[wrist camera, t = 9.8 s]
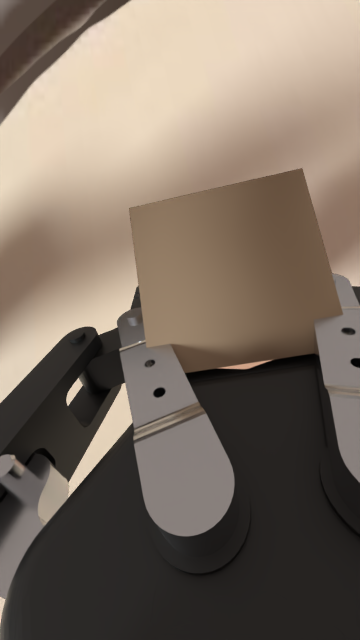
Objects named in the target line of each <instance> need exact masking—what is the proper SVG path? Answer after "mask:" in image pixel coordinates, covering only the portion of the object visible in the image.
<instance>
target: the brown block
mask: <svg viewBox="0 0 360 640" xmlns="http://www.w3.org/2000/svg"><path fill="white" fill-rule="evenodd" d="M129 212H130V220H131V228H132V236H133V244H134V252H135V260H136V268H137V276H138V284H139V292H140V300H141V308H142V316H143V324H144V332H145V340H146V348H147V347H153V346H159V345H165V344H171V346H172V348H173V351H174V353H175V355H176V357H177V359H178V361H179V363H180V365H181V367H182V369H183V371H184V373H189V372H195V371H202V370H208V369H215V368H221V367H228V366H234V365H241V364H247V363H254V362H261V361H267V360H274V359H280V358H287V357H293V356H300V355H306V354H313V353H314V319H320V318H326V317H331V316H337V315H343V311H342V308H341V304H340V301H339V297H338V294H337V290H336V287H335V283H334V279H333V276H332V272H331V269H330V265H329V262H328V258H327V255H326V251H325V248H324V244H323V240H322V237H321V233H320V230H319V226H318V223H317V219H316V216H315V212H314V208H313V205H312V201H311V198H310V194H309V191H308V187H307V184H306V180H305V177H304V173H303V169H302V168H301V169H297V170H292V171H288V172H284V173H279V174H275V175H271V176H266V177H262V178H258V179H253V180H249V181H245V182H240V183H236V184H232V185H227V186H223V187H219V188H215V189H210V190H206V191H202V192H197V193H193V194H189V195H184V196H180V197H176V198H171V199H167V200H163V201H158V202H154V203H150V204H145V205H141V206H137V207H132V208H129Z"/></svg>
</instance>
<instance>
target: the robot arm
mask: <svg viewBox="0 0 360 640" xmlns="http://www.w3.org/2000/svg"><path fill="white" fill-rule="evenodd" d="M332 276H333V279H334V283H335V287H336V290H337V294H338V297H339V301H340V304H341V308H342V311H343V315H337V316H331V317H326V318H320V319H314V353H313V354H306V355H300V356H293V357H287V358H280V359H274V360H271V361H268V362H265V363H263V364H260V365H257V366H254V367H252V368H249V369H224V368H215V369H208V370H202V371H195V372H189V373H184V371H183V369H182V367H181V365H180V363H179V361H178V359H177V357H176V355H175V353H174V351H173V348H172V346H171V344H165V345H159V346H153V347H147V348H146V340H145V332H144V324H143V316H142V308H141V300H140V292H139V286H138V287H137V288H136V292H135V295H134V299H133V302H132V306H131V309H130V310H129V311H127V312H125V313H124V314H122V315H121V316H120V317H119V318H118V320H117V326H118V327H117V328H115V329H113V330H111V331H108V332H106V333H103V334H100V335H98V333H97V331H96V329H95V328H93V327H82V328H78V329H76V330H74V331H72V332H70V333H68V334H67V335H66V336H64V337H63V338H62V339H61V340H60V341H59V343H58V344H57V345H56V346H55V347H54V348H53V349H52V350H51V351H50V352H49V353H48V354H47V355H46V356H45V357H44V358H43V359H42V360H41V361H40V362H39V364H38V365H37V366H36V367H35V368H34V369H33V370H32V371H31V372H30V373H29V374H28V375H27V376H26V377H25V378H24V379H23V380H22V381H21V382H20V383H19V385H18V386H17V387H16V388H15V389H14V390H13V391H12V392H11V393H10V394H9V395H8V396H7V397H6V398H5V399H4V400H3V401H2V402H1V403H0V597H2V598H4V599H6V600H5V604H4V608H3V612H2V618H1V625H0V640H360V287H354V286H351V284H350V281H349V280H348V279H347V278H346V277H344V276H341V275H337V274H332ZM78 378H79V379H80V381H81V383H82V384H83V386H82V387H81V389H80V390H79V392H78V393H77V395H76V396H75V397H74V399H73V400H72V402H71V403H70V404H69V406H67V403H66V397H67V393H68V391H69V389H70V388H71V387H72V385H73V384H74V383H75V381H76V380H77V379H78ZM123 383H126V389H127V394H128V399H129V404H130V410H131V415H132V420H133V423H132V424H131V425H130V426H129V427H128V429H127V430H126V431H125V432H124V433H123V435H122V436H121V437H120V438H119V439H118V440H117V442H116V443H115V444H114V445H113V446H112V447H111V449H110V450H109V451H108V452H107V453H106V454H105V456H104V457H103V458H102V459H101V460H100V461H99V463H98V464H97V465H96V466H95V467H94V468H93V470H92V471H91V472H90V473H89V474H88V475H87V477H86V478H85V479H84V480H83V481H82V483H81V484H80V485H79V486H78V487H77V488H76V490H75V491H74V492H73V493H72V494H71V495H70V497H69V498H68V493H69V485H68V482H69V481H70V479H71V477H72V475H73V473H74V472H75V470H76V468H77V466H78V464H79V463H80V461H81V459H82V457H83V455H84V454H85V452H86V450H87V448H88V447H89V445H90V443H91V441H92V439H93V438H94V436H95V434H96V432H97V430H98V429H99V427H100V425H101V423H102V421H103V420H104V418H105V416H106V414H107V412H108V411H109V409H110V407H111V405H112V404H113V402H114V400H115V398H116V396H117V395H118V393H119V391H120V389H121V385H122V384H123ZM67 498H68V499H67Z"/></svg>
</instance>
